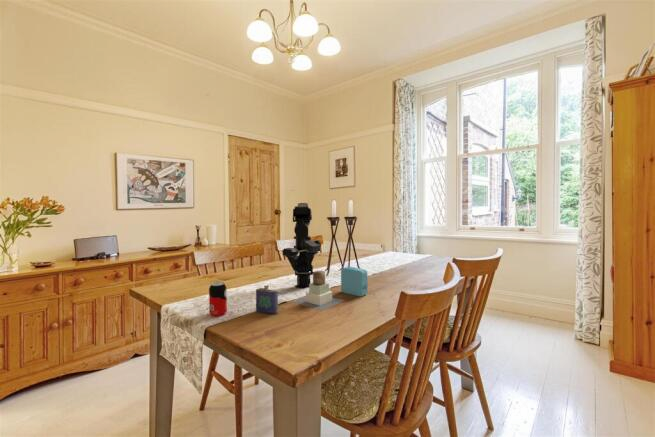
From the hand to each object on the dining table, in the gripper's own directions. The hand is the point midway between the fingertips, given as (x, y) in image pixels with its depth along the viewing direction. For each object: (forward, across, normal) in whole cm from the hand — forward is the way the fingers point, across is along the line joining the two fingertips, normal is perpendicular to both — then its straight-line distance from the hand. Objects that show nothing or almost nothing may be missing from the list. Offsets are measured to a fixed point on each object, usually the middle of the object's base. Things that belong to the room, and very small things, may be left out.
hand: (302, 269), depth 137 cm
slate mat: (+13, 0, -10) cm, 16 cm away
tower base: (+13, 0, -10) cm, 16 cm away
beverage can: (+13, -35, +11) cm, 39 cm away
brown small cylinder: (+5, 0, -10) cm, 11 cm away
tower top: (+9, 0, -10) cm, 13 cm away
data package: (+13, +19, -15) cm, 28 cm away
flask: (+13, -22, -2) cm, 26 cm away
